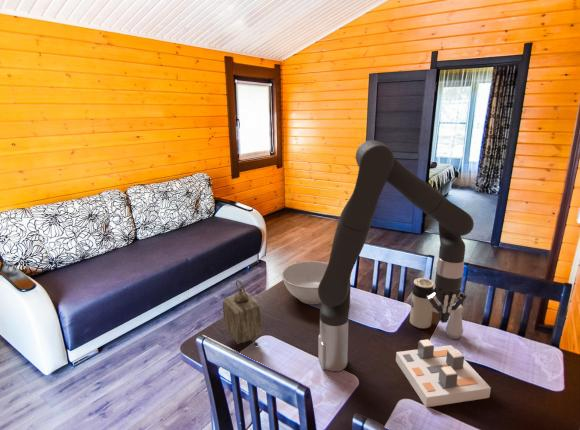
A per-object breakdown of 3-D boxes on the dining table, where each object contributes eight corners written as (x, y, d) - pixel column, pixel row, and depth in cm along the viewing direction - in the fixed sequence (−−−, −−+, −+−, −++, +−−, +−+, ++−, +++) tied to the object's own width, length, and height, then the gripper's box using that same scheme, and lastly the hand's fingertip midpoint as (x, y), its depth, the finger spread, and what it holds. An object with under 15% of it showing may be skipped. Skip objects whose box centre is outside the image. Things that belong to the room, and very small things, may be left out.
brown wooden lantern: (263, 348, 130) (259, 286, 123) (240, 357, 125) (235, 293, 118) (246, 328, 142) (242, 270, 134) (224, 336, 137) (219, 277, 130)
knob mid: (452, 370, 111) (453, 357, 110) (445, 362, 114) (447, 350, 113) (462, 368, 112) (464, 356, 110) (456, 361, 115) (457, 349, 114)
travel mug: (431, 320, 144) (435, 279, 139) (430, 330, 137) (434, 288, 132) (411, 315, 147) (414, 276, 142) (408, 326, 140) (411, 284, 135)
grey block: (445, 388, 104) (446, 375, 103) (438, 379, 107) (439, 366, 106) (456, 386, 105) (457, 373, 103) (449, 378, 108) (450, 365, 106)
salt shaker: (463, 341, 131) (468, 310, 127) (447, 339, 132) (450, 308, 128) (459, 332, 136) (463, 301, 132) (443, 330, 137) (447, 300, 133)
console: (425, 407, 103) (426, 396, 102) (395, 360, 122) (396, 351, 120) (489, 397, 105) (490, 387, 104) (450, 353, 124) (451, 344, 123)
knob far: (422, 358, 116) (424, 346, 115) (417, 351, 120) (418, 340, 118) (432, 357, 117) (434, 345, 116) (427, 350, 120) (428, 338, 119)
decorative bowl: (311, 278, 182) (311, 256, 178) (353, 297, 163) (354, 273, 159) (270, 297, 164) (269, 273, 161) (312, 321, 145) (312, 294, 142)
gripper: (436, 279, 105) (430, 330, 110) (476, 275, 107) (469, 325, 112) (422, 268, 112) (418, 317, 117) (461, 265, 114) (454, 312, 119)
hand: (443, 321), depth 114 cm, fingers closed
